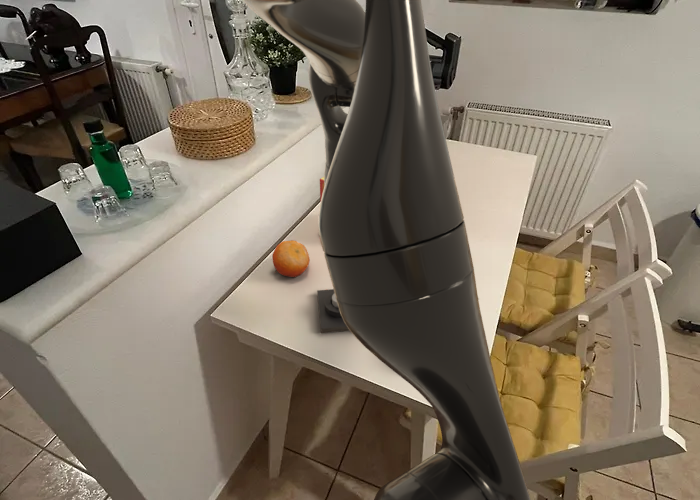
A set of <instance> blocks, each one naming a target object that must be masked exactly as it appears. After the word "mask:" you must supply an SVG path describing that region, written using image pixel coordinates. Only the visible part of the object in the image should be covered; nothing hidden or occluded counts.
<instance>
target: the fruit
mask: <svg viewBox="0 0 700 500" xmlns="http://www.w3.org/2000/svg"><path fill="white" fill-rule="evenodd" d="M271 256H272V259H271V260H272V264H273V267H274V269H275V271H274V272H273V274H276V273H278V274H280V275H282V276H284V277H289V278H290V277H291V278H297V277H299V276H301V275H302V274H303V273H304V272H305V271H306V270H307V269H308V266H309V265H310V261H311V260H310V254H309V251H308V250H307V248H306V246H305V245H304V244H303V243H300V242H298V241H297V240H283V241H281V242H280V243H278V244H277V245H276V247H275V249H274V250H273V252H272V255H271Z"/></svg>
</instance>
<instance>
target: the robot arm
mask: <svg viewBox="0 0 700 500" xmlns="http://www.w3.org/2000/svg"><path fill="white" fill-rule="evenodd" d="M242 2H243V3H244V4H245V5H246V6H247V7H248V8H249V9H250V10H251V11H252V12H254V13H255V14H256V15H257V16H258V17H260V19H262V20H263V21H264V22H266V23H267V24H268V25H269V26H270V27H272V28H273V29H275V31H276V32H278V33H279V34H280V35H281V36H282V37H284V38H286V39H287V40H288V41H289V42H290V43H292V44H293V45H295V46H296V47H297V48H298V49H300V50H301V52H303V54H304V56H305V57H306V59H307V61H308V63H309V66H308V83H309V84H308V85H309V88H310V91H311V95H312V98H313V101H314V104H315V107H316V109H317V112H318V116H319V119H320V123H321V126H322V131H323V137H324V138H323V139H324V162H325V163H324V173H323V177H324V190H323V193H322V198H321V202H320V203H319V208H318V209H319V210H318V217H317V229H318V230H317V231H318V237H319V242H320V244H321V245H320V246H321V249H322V251H323V256H324V259H325V263H326V267H327V270H328V274H329V277H330V281H331V285H332V289H334V293H335V296H336V300H337V304H338V307H339V311H340V314H341V316H342V318H343V320H344V322H345V324H346V325H347V327H348V328H349V330H350V331H349V332H350V333H351V334H352V335H353V336H354V337H355V339H356V340H357V341H358V342H359V343H360V344H361V345H362V346H363V347H365V349H367V350H368V351H369V352H370V353H371V354H372V355H374V357H375V358H377V359H378V360H379V361H380V362H382V363H383V364H384V365H385V366H387V368H389V369H390V370H391V371H393V372H394V373H396V374H397V375H398V376H399V377H400V378H402V379H403V380H404V381H405V382H407V383H408V384H409V385H411V387H413V388H414V389H415V390H416V392H418V393H419V394H420V395H421V396H422V397H423V398H424V399H425V400H426V401H427V402H428V403H429V405H430V406H431V408H432V410H433V412H434V413H435V416H436V418H437V421H438V422H437V423H438V425H439V428H440V433H441V446H440V449H439V450H438V451H437V452H436V453H434V454H432V455H431V456H429V457H428V458H426V459H424V460H422V461H420V462H419V463H418V464H416V465H414V466H413V467H411V468H408V470H406V471H404V472H403V473H402V474H400V475H398V476H396V477H394V478H393V479H391V480H390V481H388V482H386V483H385V484H384V485H382V486H381V487H380V489H378V491H377V492H376V494H375V495H374V497H373V500H532V499H531V495H530V492H529V489H528V485H527V482H526V479H525V475H524V472H523V469H522V466H521V463H520V459H519V456H518V453H517V450H516V447H515V444H514V440H513V437H512V433H511V430H510V428H509V424H508V422H507V418H506V415H505V412H504V411H505V410H504V408H503V407H504V406H503V404H502V400H501V397H500V394H499V393H500V392H499V389H498V385H497V380H496V375H495V372H494V367H493V363H492V358H491V355H490V350H489V346H488V345H489V344H488V342H487V341H488V340H487V336H486V331H485V327H484V321H483V318H482V317H483V316H482V313H481V307H480V301H479V296H478V289H477V282H476V281H477V280H476V274H475V267H474V261H473V258H472V253H471V247H470V243H469V237H468V233H467V228H466V223H465V217H464V213H463V212H464V211H463V208H462V203H461V200H460V196H459V190H458V187H457V182H456V179H455V174H454V170H453V165H452V161H451V155H450V152H449V147H448V144H447V139H446V135H445V134H446V133H445V130H444V126H443V121H442V116H441V112H440V107H439V103H438V98H437V92H436V87H435V82H434V77H433V72H432V71H433V70H432V65H431V60H430V53H429V46H428V39H427V32H426V24H425V19H424V10H423V5H422V4H423V3H422V0H365V9H364V7H363V6H362V5H361V4H360V3H359V1H357V0H242ZM343 107H344V108H348V112H346V111H345V110H344V109H343Z"/></svg>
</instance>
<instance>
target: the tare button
mask: <svg viewBox="0 0 700 500" xmlns="http://www.w3.org/2000/svg"><path fill="white" fill-rule="evenodd" d="M332 304H333V306H335V307H337V308H339V307H338V304H337V300H336V296H335V293H334V294H333V295H332Z"/></svg>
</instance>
